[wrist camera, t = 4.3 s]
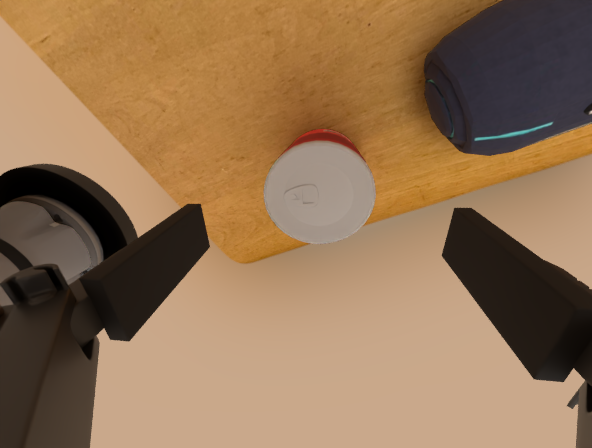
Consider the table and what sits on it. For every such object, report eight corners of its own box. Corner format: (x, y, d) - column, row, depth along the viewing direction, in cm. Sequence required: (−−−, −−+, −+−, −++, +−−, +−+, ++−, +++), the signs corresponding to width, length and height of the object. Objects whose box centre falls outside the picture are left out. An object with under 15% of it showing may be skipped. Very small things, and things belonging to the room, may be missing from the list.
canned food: (275, 143, 27) (245, 165, 17) (347, 115, 25) (361, 122, 15) (299, 205, 29) (285, 256, 20) (366, 185, 27) (387, 230, 18)
